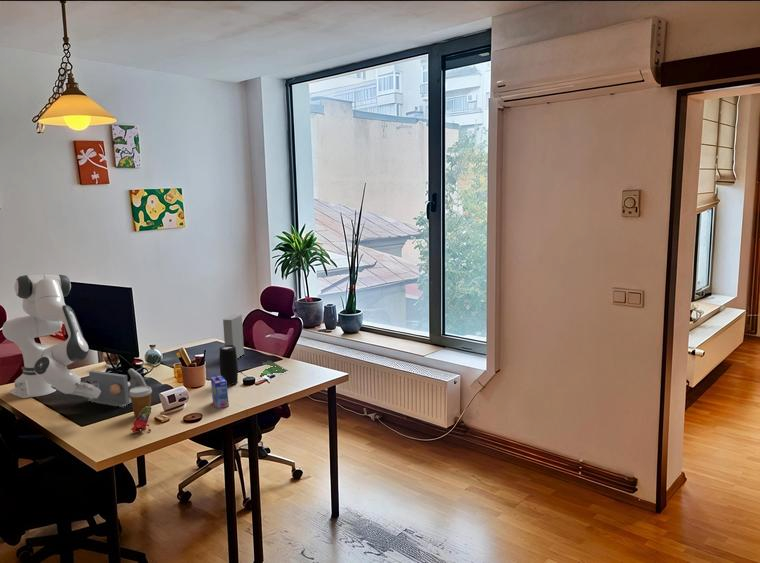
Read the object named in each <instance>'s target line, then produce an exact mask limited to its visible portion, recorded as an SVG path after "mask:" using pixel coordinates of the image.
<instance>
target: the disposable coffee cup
mask: <svg viewBox="0 0 760 563" xmlns="http://www.w3.org/2000/svg"><path fill="white" fill-rule="evenodd" d="M152 392H153V389H152V387H151V386H148V385H147V386H139V387H135V388H132V389H131V390H130V392H129V397H130V398H131V402H132V404H131V406H132V411H133V414H134V418H135V419H136V418H137V417H138V415H139V413H140V411H141V410H142V409H143V408H144V407H146V406H150V407H151V404H152ZM151 408H152V407H151Z"/></svg>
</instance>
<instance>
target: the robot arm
mask: <svg viewBox="0 0 760 563" xmlns="http://www.w3.org/2000/svg"><path fill="white" fill-rule="evenodd" d="M13 287H14V292H15V294H16V296H17V297H18V298H20V299H22V306H21V307H22V309H23V311H24V312H25V313H26V314H27V315H25V316H19V317H14V318H10V319H9V320H6V321H5V322H3V325H2V329H1V331H2V334H3V336H4V337H5V339H7V340H8V341H10V342H12V343H14V344H16V346H17V347H18V348H19V349H20V352H21V354H22V358H23V359H22V360H23V365H24V366H21V367H20V368H21V370H22V374H20V376H18V377H17V378H16V379H15V380H14V388H13V389H11V390H9V392H8V393H9V394H10V395H14V396H15V397H18V398H20V399H27V398H34V397H35V398H36V397H42V396H47V395H49V394H52V393H55V392H56V391H59V392H61V393H63V394H65V395H75V396H79V397H83V398H85V399H93V398H98V397H99V395H100V393H101V391H100V390H99V389H98V388H96V387H94V386H92V385H90V383H88V382H83V381H82V382H81V380H82V379H81V376H79V375H78V374H77V373H76V372H74V371H73V370H71V369H68V367H67V366H69V365H71V364H73V363H76V362H79V361H82V360H85V359H86V358H87V356H88V354H89V351H90V348H89V345H88V342H87V340H86V338H85V337H84V335H83V331H82V329H81V326H80V323H79V321H78V318H77V316H76V313H75V311H74V309H72V307H71V306H69V305H67V304H66V303H65V298H64V297H68V295H69V294H70V291H71V288H72V284H71V280H70V278H69V277H68V276H67V275H64V274H51V273H50V274H49V273H45V274H44V273H43V274H30V275H27V274H26V275H21V276H18V277H17V278H16V280H15V282H14V286H13ZM63 325H64V327H65V330H66V333H67V335H68V337H67V338H66V340H65V341H62V342H59V343H57V344H54V345H51V346H49V347H48V346H47V345H46V344H42V343H38V342H36V341H35V338H40V337H45V336H50V335H54V334H57V333H58V332H60V331H61V329H62V327H63Z"/></svg>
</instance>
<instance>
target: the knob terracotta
mask: <svg viewBox="0 0 760 563" xmlns="http://www.w3.org/2000/svg"><path fill="white" fill-rule="evenodd" d="M129 386H130V382H129V381H128V387H129ZM110 392H111V394H113V395H116V394H119V393H120V392H121V385H119V384H114V385H112V386H110Z"/></svg>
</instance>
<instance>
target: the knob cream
mask: <svg viewBox="0 0 760 563" xmlns="http://www.w3.org/2000/svg"><path fill="white" fill-rule="evenodd" d="M89 384H90V383H89ZM90 385H92V386H94V387H99V382H96V383H93V384H90Z"/></svg>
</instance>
